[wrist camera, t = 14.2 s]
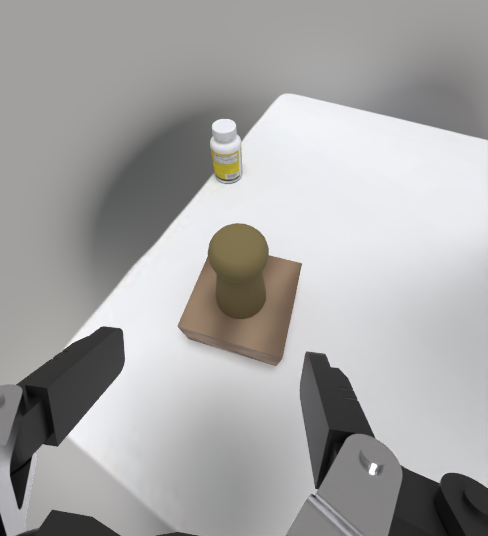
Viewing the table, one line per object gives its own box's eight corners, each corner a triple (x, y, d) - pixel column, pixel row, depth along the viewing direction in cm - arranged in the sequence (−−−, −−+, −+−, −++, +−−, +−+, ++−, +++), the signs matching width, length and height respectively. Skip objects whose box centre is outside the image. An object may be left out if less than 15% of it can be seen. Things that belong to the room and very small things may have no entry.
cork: (208, 283, 30) (190, 225, 20) (253, 265, 31) (256, 203, 21) (226, 327, 27) (215, 286, 17) (275, 307, 28) (289, 257, 18)
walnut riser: (294, 283, 36) (301, 263, 31) (276, 365, 30) (282, 358, 25) (218, 264, 38) (214, 242, 33) (188, 338, 32) (177, 326, 27)
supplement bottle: (223, 162, 50) (218, 113, 41) (246, 170, 48) (246, 121, 40) (209, 179, 47) (201, 130, 39) (234, 187, 46) (231, 139, 38)
